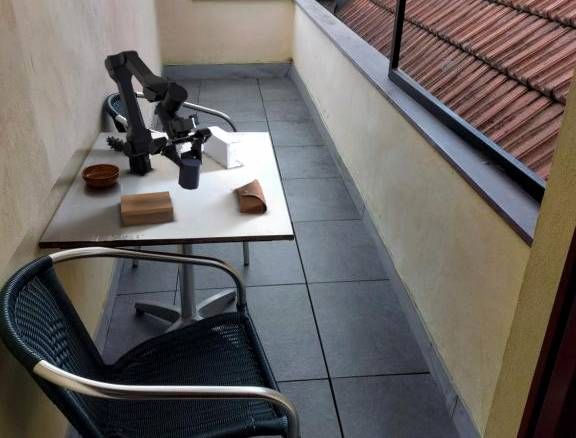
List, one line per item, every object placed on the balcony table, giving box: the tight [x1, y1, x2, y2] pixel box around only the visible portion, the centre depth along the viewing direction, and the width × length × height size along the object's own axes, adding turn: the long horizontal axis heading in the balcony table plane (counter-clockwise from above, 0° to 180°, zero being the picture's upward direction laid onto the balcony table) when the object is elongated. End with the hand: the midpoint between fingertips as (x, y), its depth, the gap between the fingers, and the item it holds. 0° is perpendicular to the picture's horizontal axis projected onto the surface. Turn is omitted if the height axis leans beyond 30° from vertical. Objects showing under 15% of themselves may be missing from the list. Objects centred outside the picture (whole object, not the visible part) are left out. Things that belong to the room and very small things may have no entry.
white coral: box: [167, 137, 186, 153], centre depth 203 cm, size 7×8×6 cm
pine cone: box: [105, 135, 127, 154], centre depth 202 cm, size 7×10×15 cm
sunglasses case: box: [234, 178, 268, 215], centre depth 169 cm, size 18×7×7 cm
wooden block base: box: [119, 190, 175, 227], centre depth 160 cm, size 15×14×4 cm
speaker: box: [177, 149, 202, 191], centre depth 160 cm, size 8×6×10 cm
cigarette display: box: [202, 125, 242, 170], centre depth 198 cm, size 20×6×9 cm, turn 34°
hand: (192, 166), depth 158 cm, fingers closed on speaker, 6 cm apart
